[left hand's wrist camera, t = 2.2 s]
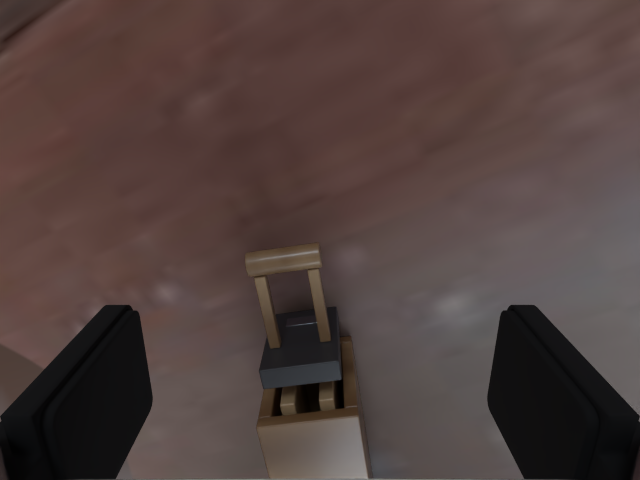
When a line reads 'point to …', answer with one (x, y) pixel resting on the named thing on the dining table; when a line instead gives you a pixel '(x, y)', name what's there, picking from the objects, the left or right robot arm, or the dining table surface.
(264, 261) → the wooden handle frame
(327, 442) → the cabinet
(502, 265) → the dining table surface
